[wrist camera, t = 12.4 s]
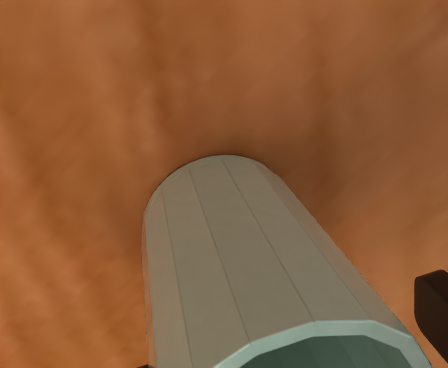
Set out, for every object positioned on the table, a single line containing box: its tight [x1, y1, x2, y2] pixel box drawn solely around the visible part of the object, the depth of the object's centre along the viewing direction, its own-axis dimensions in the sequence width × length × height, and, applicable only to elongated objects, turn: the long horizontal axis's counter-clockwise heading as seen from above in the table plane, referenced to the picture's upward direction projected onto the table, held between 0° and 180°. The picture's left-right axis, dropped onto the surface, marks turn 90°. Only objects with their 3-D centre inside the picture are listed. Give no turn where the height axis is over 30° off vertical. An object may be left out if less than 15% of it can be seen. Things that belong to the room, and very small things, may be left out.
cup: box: [141, 155, 432, 368], centre depth 13 cm, size 6×6×9 cm
